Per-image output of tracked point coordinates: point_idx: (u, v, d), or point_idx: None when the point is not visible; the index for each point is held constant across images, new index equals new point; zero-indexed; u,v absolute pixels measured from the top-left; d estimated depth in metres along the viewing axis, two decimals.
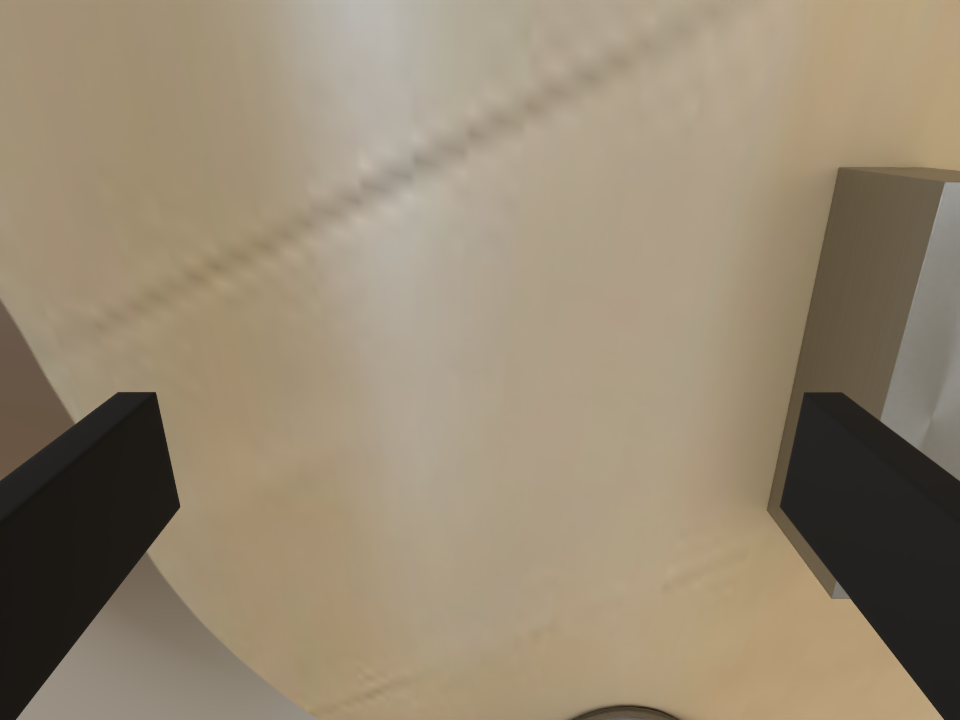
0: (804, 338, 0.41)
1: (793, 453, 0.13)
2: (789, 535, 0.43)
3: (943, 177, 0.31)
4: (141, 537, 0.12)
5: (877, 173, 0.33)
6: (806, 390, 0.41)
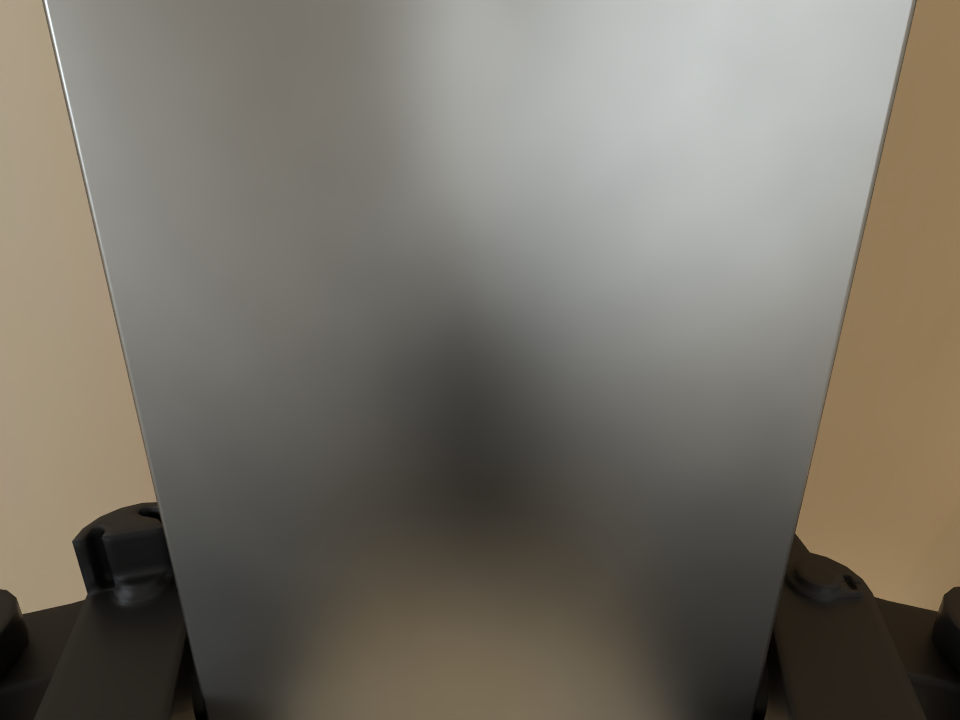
0: None
1: None
2: None
3: None
4: None
5: None
6: None
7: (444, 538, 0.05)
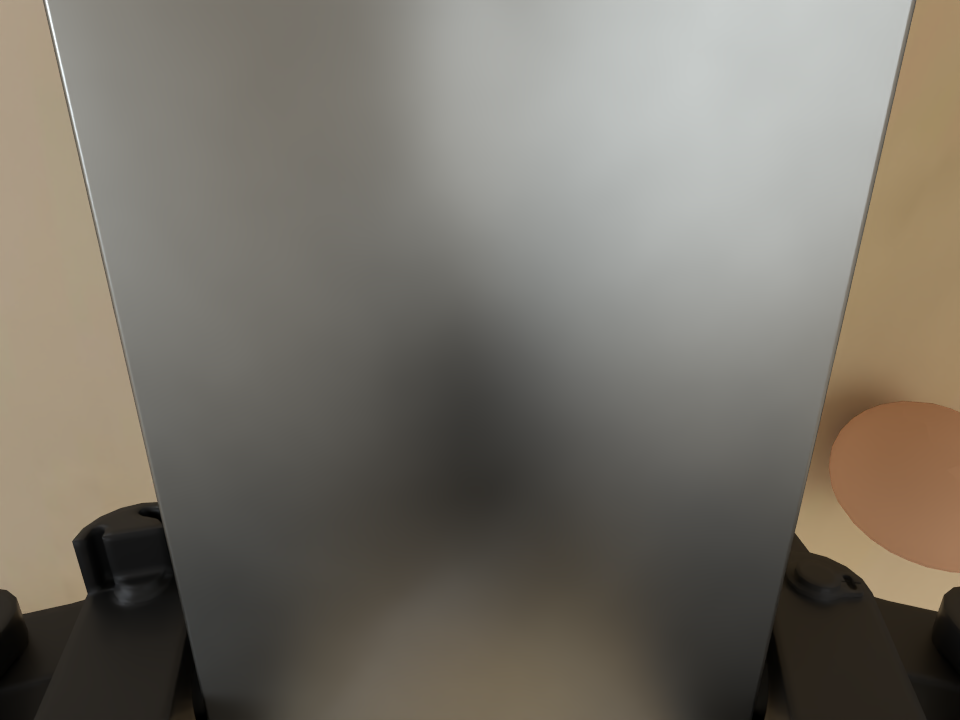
0: None
1: None
2: None
3: None
4: None
5: None
6: None
7: (444, 536, 0.05)
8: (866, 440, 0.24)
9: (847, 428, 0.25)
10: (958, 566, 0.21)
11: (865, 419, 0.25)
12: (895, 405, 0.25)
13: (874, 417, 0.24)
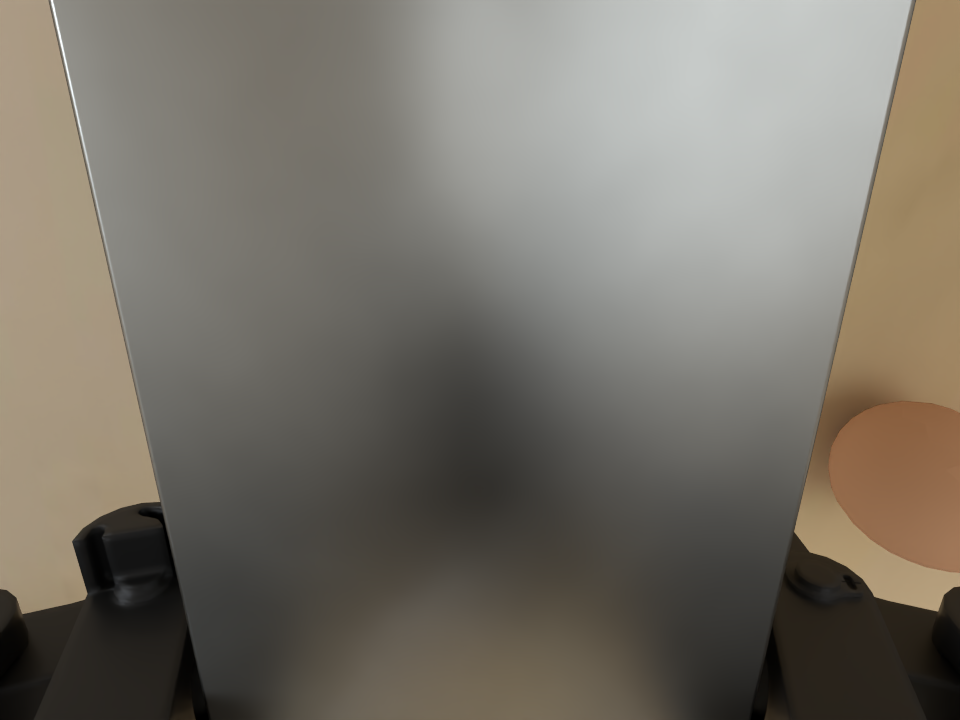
0: None
1: None
2: None
3: None
4: None
5: None
6: None
7: (446, 534, 0.05)
8: (865, 440, 0.24)
9: (846, 428, 0.25)
10: (957, 566, 0.21)
11: (865, 419, 0.25)
12: (894, 405, 0.25)
13: (873, 417, 0.24)
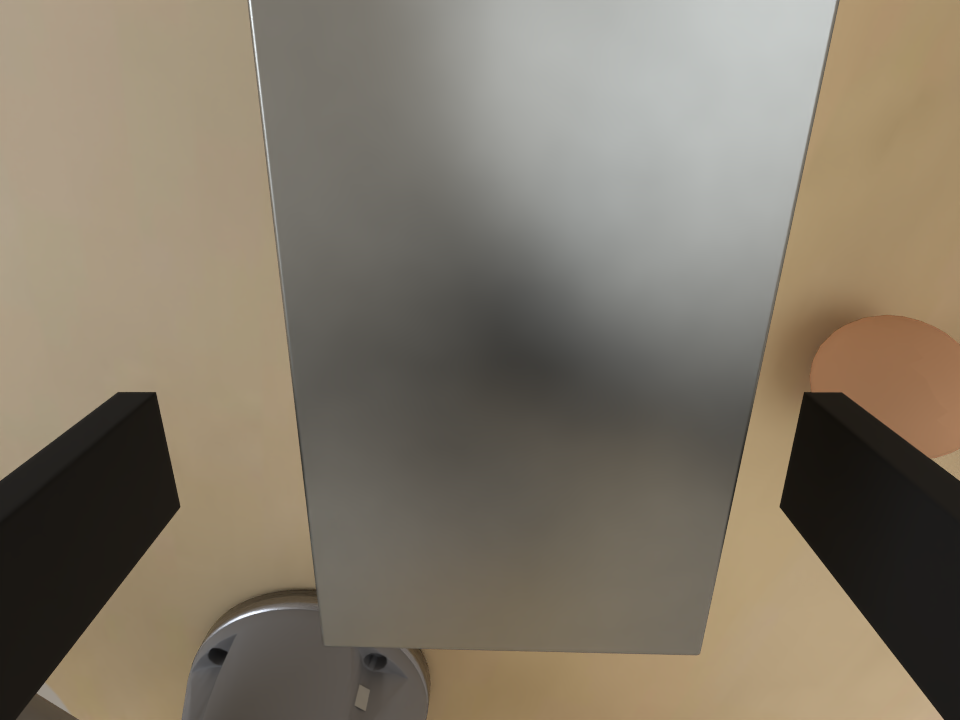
0: None
1: (793, 452, 0.13)
2: None
3: None
4: (141, 536, 0.12)
5: None
6: None
7: (502, 216, 0.06)
8: (841, 346, 0.27)
9: (826, 340, 0.28)
10: None
11: (842, 330, 0.28)
12: (869, 317, 0.28)
13: (849, 327, 0.27)
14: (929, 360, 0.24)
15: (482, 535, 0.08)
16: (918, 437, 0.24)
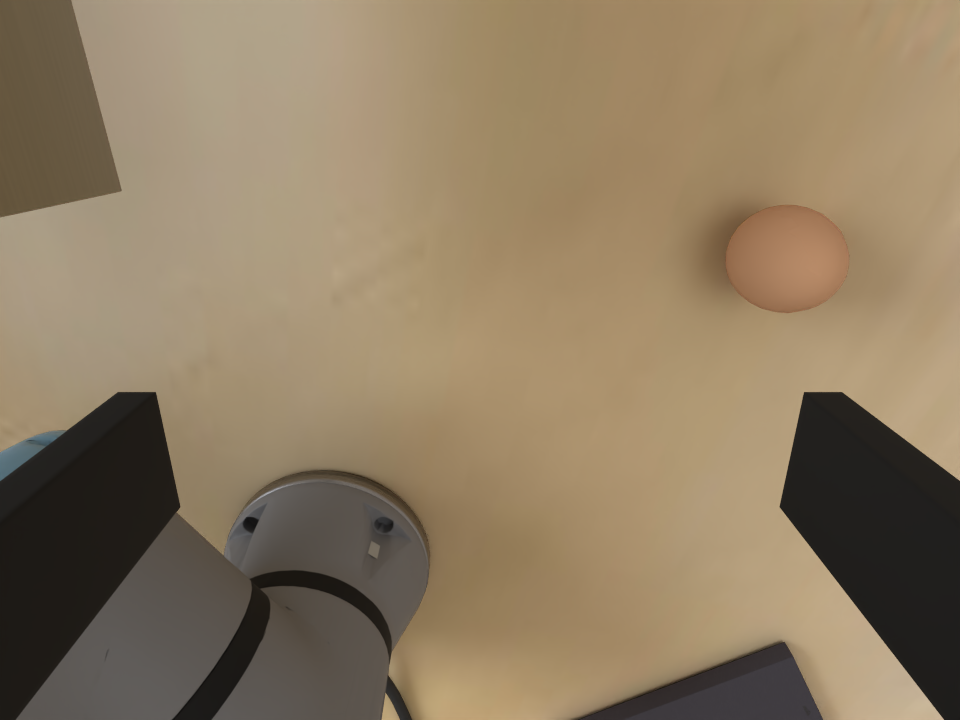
0: None
1: (793, 452, 0.13)
2: None
3: None
4: (140, 536, 0.12)
5: None
6: None
7: None
8: (744, 228, 0.35)
9: (736, 229, 0.36)
10: (796, 296, 0.32)
11: (746, 219, 0.36)
12: (766, 208, 0.35)
13: (751, 216, 0.35)
14: (803, 227, 0.32)
15: None
16: (796, 285, 0.32)
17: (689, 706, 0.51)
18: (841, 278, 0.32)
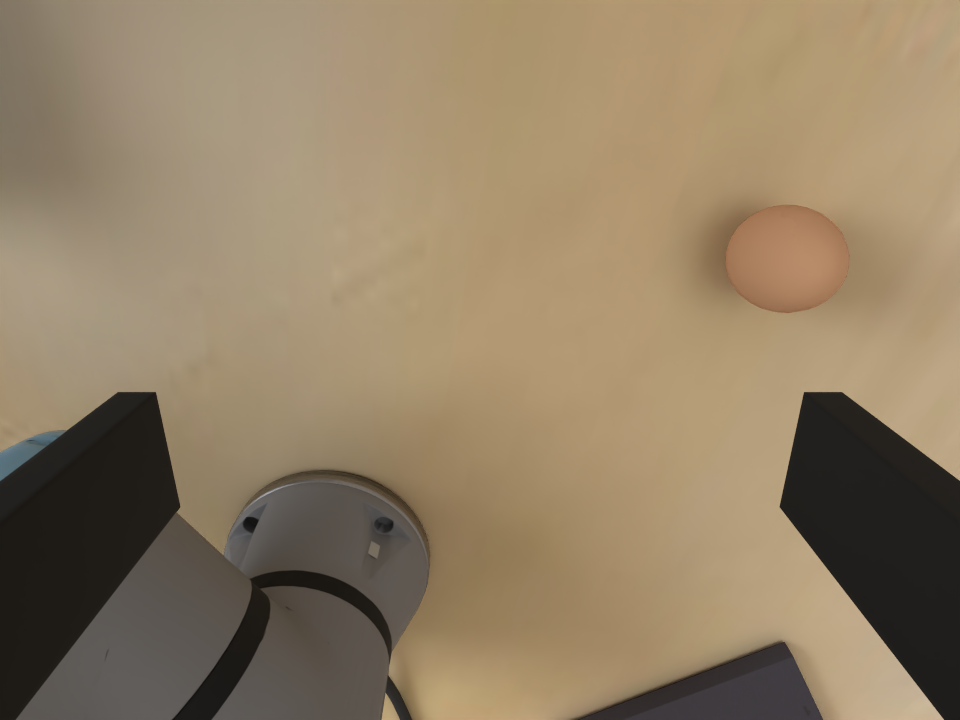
0: None
1: (793, 452, 0.13)
2: None
3: None
4: (140, 536, 0.12)
5: None
6: None
7: None
8: (744, 228, 0.35)
9: (736, 229, 0.36)
10: (796, 296, 0.32)
11: (746, 219, 0.36)
12: (766, 208, 0.35)
13: (751, 216, 0.35)
14: (803, 227, 0.32)
15: None
16: (796, 285, 0.32)
17: (689, 706, 0.51)
18: (841, 278, 0.32)
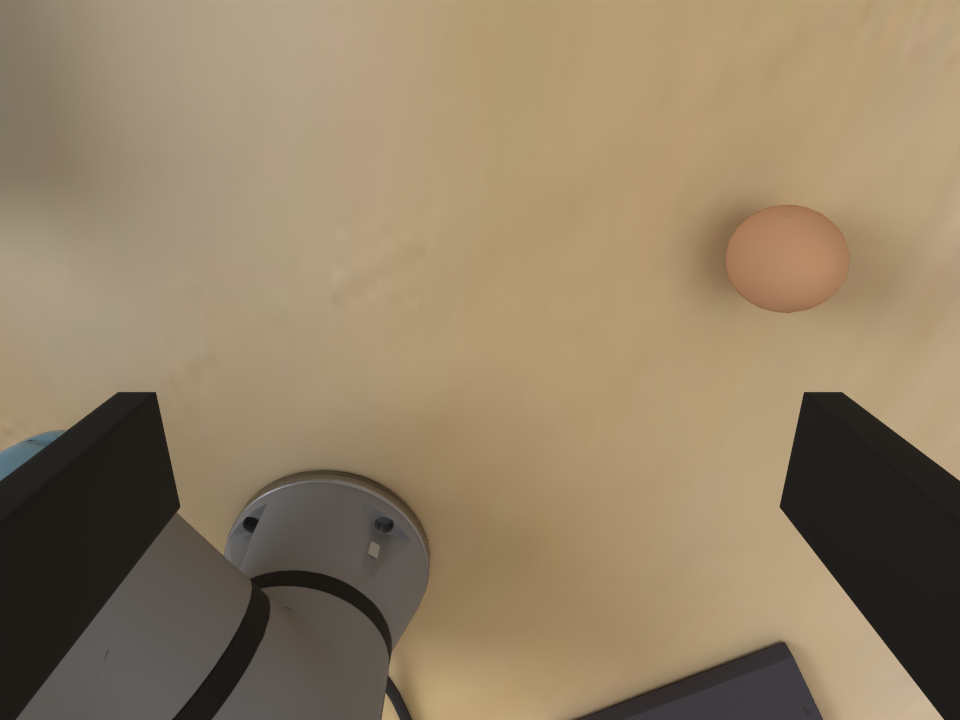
0: None
1: (793, 452, 0.13)
2: None
3: None
4: (140, 536, 0.12)
5: None
6: None
7: None
8: (744, 228, 0.35)
9: (736, 229, 0.36)
10: (796, 296, 0.32)
11: (746, 219, 0.36)
12: (766, 208, 0.35)
13: (751, 216, 0.35)
14: (803, 227, 0.32)
15: None
16: (796, 285, 0.32)
17: (689, 706, 0.51)
18: (841, 278, 0.32)
